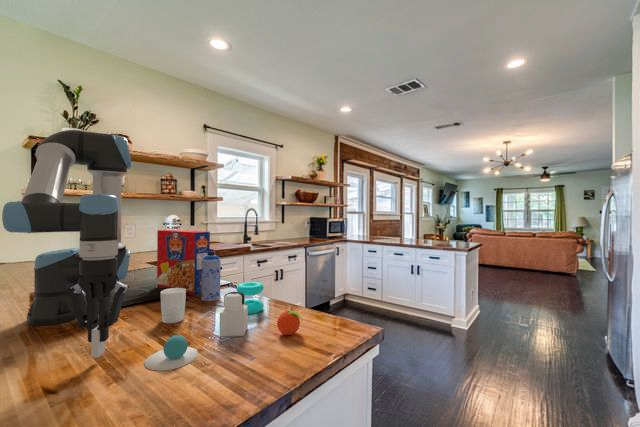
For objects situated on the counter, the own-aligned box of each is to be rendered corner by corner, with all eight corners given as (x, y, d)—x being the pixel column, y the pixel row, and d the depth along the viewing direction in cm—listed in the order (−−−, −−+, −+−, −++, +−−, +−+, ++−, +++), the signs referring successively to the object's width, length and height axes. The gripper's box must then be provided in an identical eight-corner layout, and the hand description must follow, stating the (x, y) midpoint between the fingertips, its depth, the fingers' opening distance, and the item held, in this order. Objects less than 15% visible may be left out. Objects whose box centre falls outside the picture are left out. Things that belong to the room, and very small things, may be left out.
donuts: (268, 282, 114) (253, 288, 105) (268, 308, 114) (253, 316, 105) (247, 280, 118) (230, 285, 108) (247, 305, 118) (230, 312, 108)
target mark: (135, 372, 68) (135, 371, 68) (156, 348, 79) (156, 347, 79) (190, 368, 69) (190, 368, 69) (203, 346, 81) (203, 345, 81)
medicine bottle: (225, 327, 94) (225, 290, 94) (247, 327, 95) (248, 289, 95) (219, 337, 87) (219, 296, 87) (243, 336, 88) (244, 296, 88)
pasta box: (157, 287, 145) (157, 230, 145) (172, 284, 151) (172, 229, 151) (194, 295, 131) (194, 232, 131) (209, 291, 137) (209, 231, 137)
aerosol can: (213, 294, 132) (213, 250, 132) (224, 297, 127) (224, 251, 127) (197, 298, 126) (197, 251, 126) (208, 302, 121) (208, 253, 121)
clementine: (306, 332, 91) (306, 309, 91) (297, 341, 85) (297, 316, 85) (283, 328, 94) (283, 306, 94) (272, 337, 87) (273, 313, 87)
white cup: (175, 325, 96) (175, 294, 96) (154, 323, 98) (154, 293, 98) (190, 316, 104) (191, 288, 104) (171, 315, 105) (171, 287, 105)
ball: (155, 349, 71) (175, 337, 72) (164, 339, 77) (182, 327, 77) (168, 368, 72) (188, 355, 72) (176, 356, 77) (194, 344, 78)
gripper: (57, 260, 67) (56, 364, 67) (120, 259, 69) (119, 360, 69) (79, 255, 75) (78, 349, 75) (135, 255, 77) (134, 346, 77)
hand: (98, 354), depth 72 cm, fingers closed
